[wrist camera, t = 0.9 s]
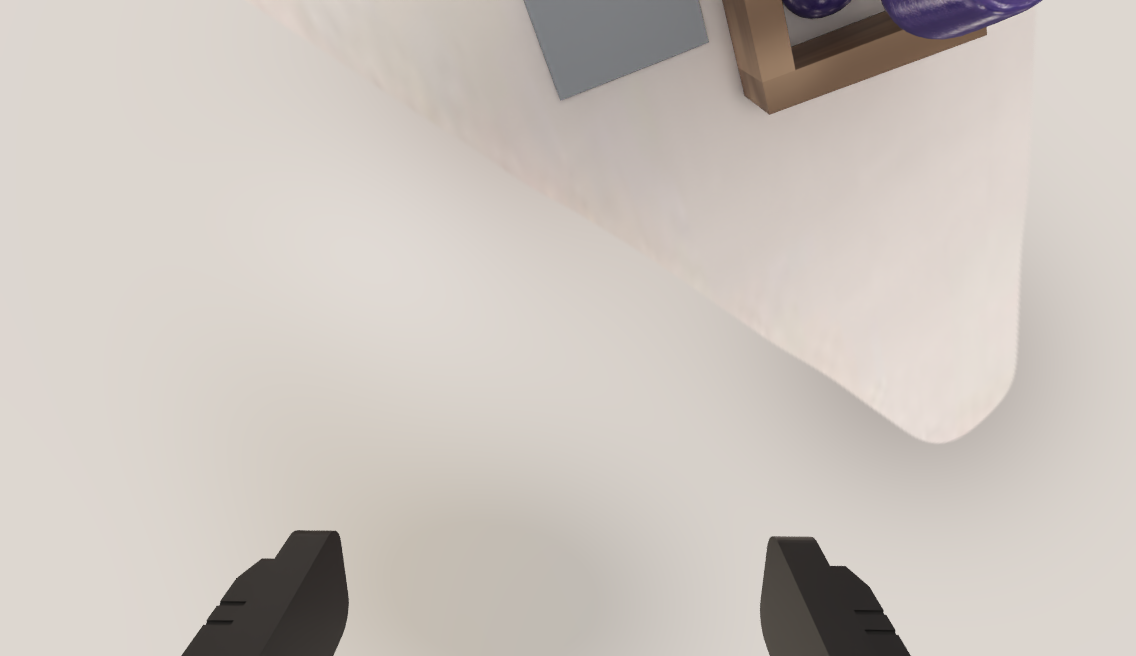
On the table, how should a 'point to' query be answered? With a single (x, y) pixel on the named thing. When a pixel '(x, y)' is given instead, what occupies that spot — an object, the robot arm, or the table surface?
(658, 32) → the slate pad
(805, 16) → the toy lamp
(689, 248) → the table surface
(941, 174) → the table surface
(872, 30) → the wooden cube shelf
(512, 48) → the table surface
